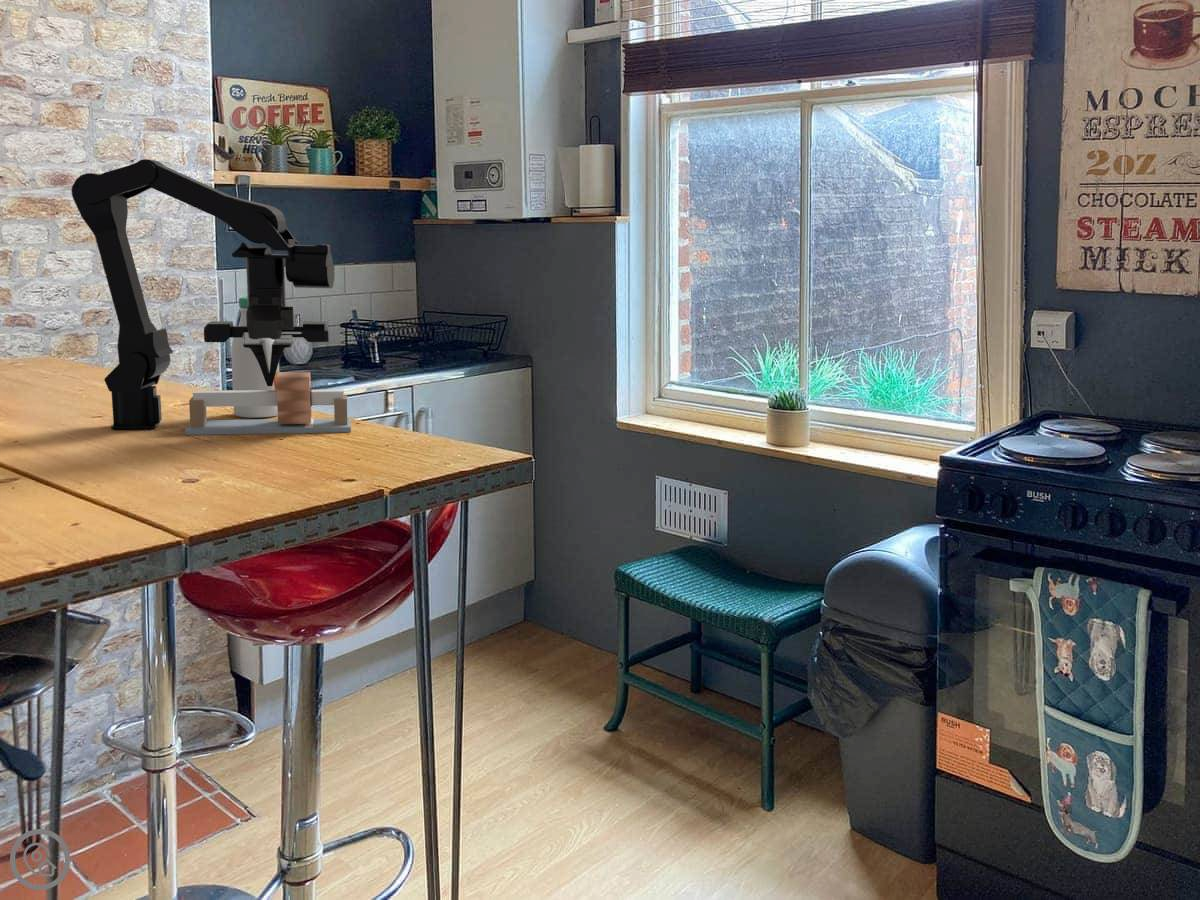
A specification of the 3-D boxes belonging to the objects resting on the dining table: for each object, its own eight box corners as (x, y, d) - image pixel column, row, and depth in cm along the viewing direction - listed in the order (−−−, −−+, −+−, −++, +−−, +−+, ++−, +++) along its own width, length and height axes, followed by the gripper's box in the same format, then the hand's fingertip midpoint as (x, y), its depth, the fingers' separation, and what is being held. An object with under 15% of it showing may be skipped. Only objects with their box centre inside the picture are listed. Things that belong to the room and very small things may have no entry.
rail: (185, 434, 177) (183, 395, 175) (192, 425, 184) (190, 387, 183) (350, 432, 182) (349, 393, 181) (350, 423, 190) (349, 386, 188)
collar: (277, 424, 180) (276, 377, 179) (280, 417, 186) (278, 372, 184) (310, 423, 181) (309, 377, 180) (311, 416, 187) (310, 372, 185)
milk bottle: (267, 420, 190) (263, 299, 186) (225, 417, 192) (219, 297, 188) (288, 412, 198) (285, 296, 194) (247, 410, 199) (243, 294, 195)
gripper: (197, 290, 169) (202, 394, 172) (326, 291, 173) (329, 393, 176) (205, 285, 179) (210, 383, 183) (327, 286, 183) (330, 382, 187)
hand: (269, 386), depth 182 cm, fingers closed
